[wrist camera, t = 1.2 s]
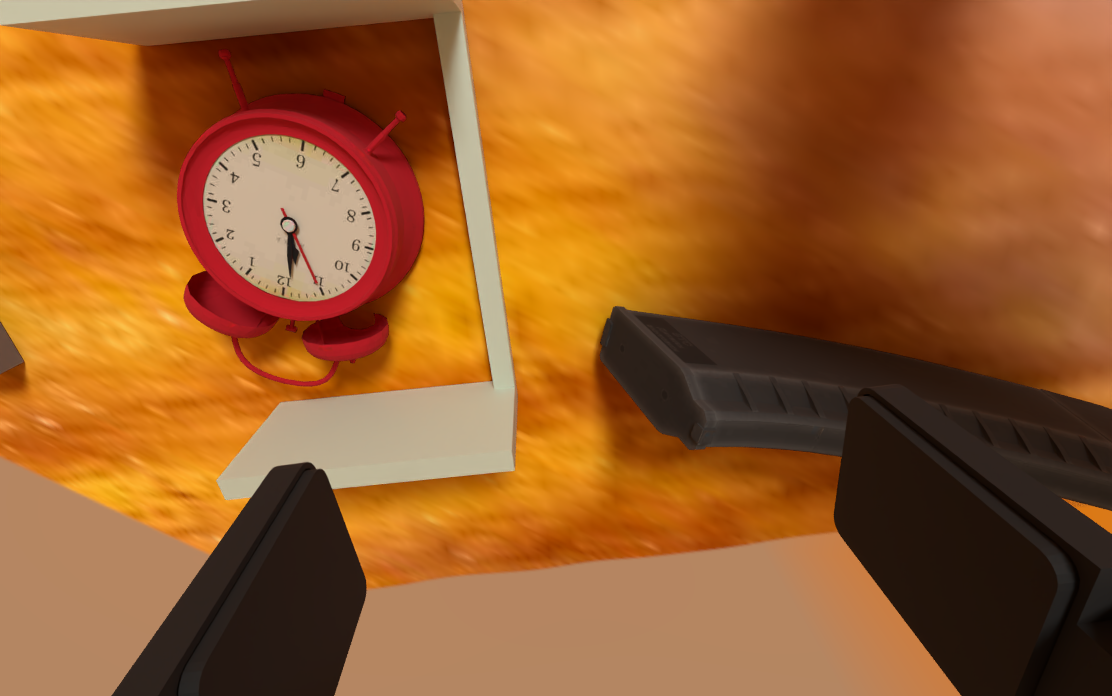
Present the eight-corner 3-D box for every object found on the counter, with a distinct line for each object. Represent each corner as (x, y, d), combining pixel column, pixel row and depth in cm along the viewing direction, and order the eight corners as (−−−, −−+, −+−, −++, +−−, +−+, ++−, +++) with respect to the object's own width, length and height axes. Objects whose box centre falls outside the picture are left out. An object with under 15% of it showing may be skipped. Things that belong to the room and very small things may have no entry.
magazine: (564, 429, 22) (1392, 701, 18) (582, 361, 21) (1482, 639, 16) (617, 309, 37) (1068, 440, 33) (629, 266, 36) (1100, 398, 32)
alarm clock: (439, 114, 21) (357, 442, 24) (451, 139, 27) (385, 399, 30) (167, 19, 20) (112, 386, 22) (244, 68, 26) (194, 352, 28)
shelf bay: (134, 13, 22) (-22, -21, 16) (459, -18, 22) (431, -65, 16) (286, 419, 31) (225, 499, 25) (517, 396, 31) (514, 470, 25)
